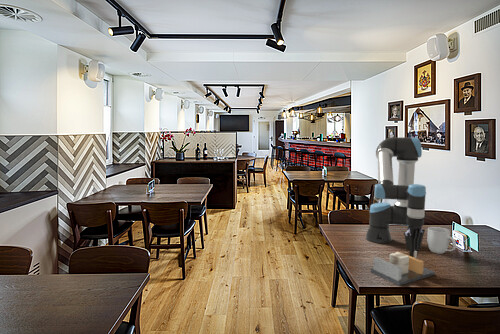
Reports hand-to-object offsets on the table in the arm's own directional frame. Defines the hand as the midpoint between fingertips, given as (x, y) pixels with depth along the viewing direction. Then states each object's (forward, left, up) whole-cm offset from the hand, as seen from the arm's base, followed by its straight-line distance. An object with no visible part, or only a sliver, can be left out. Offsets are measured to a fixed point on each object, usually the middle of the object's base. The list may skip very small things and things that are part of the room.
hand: (412, 263), depth 157 cm
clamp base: (0, -7, -4) cm, 8 cm away
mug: (-9, +36, -4) cm, 37 cm away
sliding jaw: (0, -3, -2) cm, 4 cm away
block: (0, -10, -2) cm, 10 cm away
